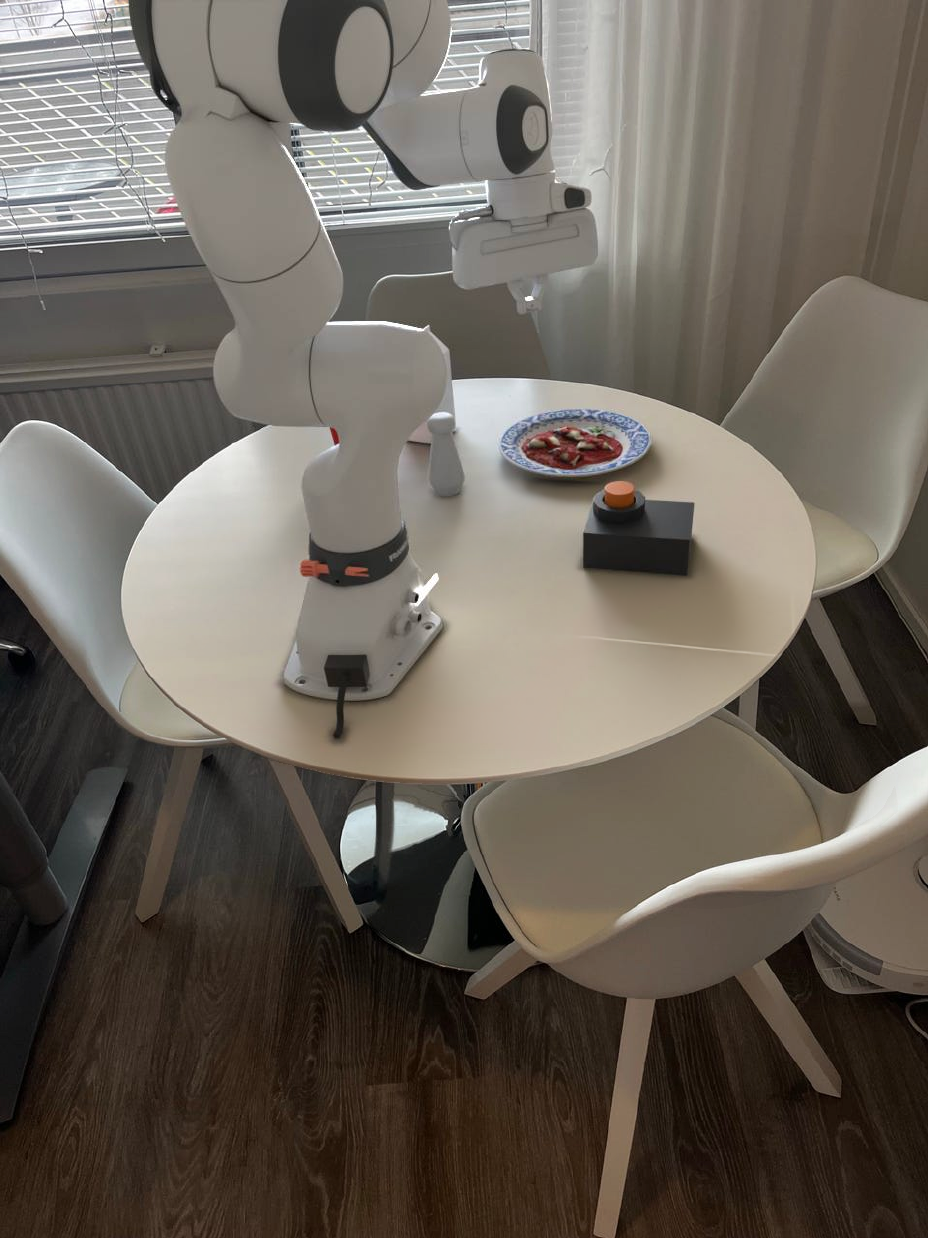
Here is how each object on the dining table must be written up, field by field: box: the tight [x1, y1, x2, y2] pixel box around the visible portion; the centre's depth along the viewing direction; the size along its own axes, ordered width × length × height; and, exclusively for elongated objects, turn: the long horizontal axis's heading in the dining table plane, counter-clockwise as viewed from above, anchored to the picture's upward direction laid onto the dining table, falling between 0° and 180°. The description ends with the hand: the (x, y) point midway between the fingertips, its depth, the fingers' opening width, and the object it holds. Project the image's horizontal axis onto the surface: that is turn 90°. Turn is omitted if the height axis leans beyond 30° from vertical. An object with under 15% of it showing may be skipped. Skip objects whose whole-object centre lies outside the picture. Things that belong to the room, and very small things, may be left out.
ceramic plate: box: [498, 408, 652, 478], centre depth 148 cm, size 26×26×3 cm
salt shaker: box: [427, 412, 466, 498], centre depth 138 cm, size 6×6×13 cm
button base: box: [582, 488, 695, 577], centre depth 120 cm, size 14×10×8 cm
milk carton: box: [407, 324, 457, 445], centre depth 154 cm, size 7×7×19 cm
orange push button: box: [604, 480, 636, 508], centre depth 120 cm, size 4×4×2 cm
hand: (529, 312), depth 118 cm, fingers closed
